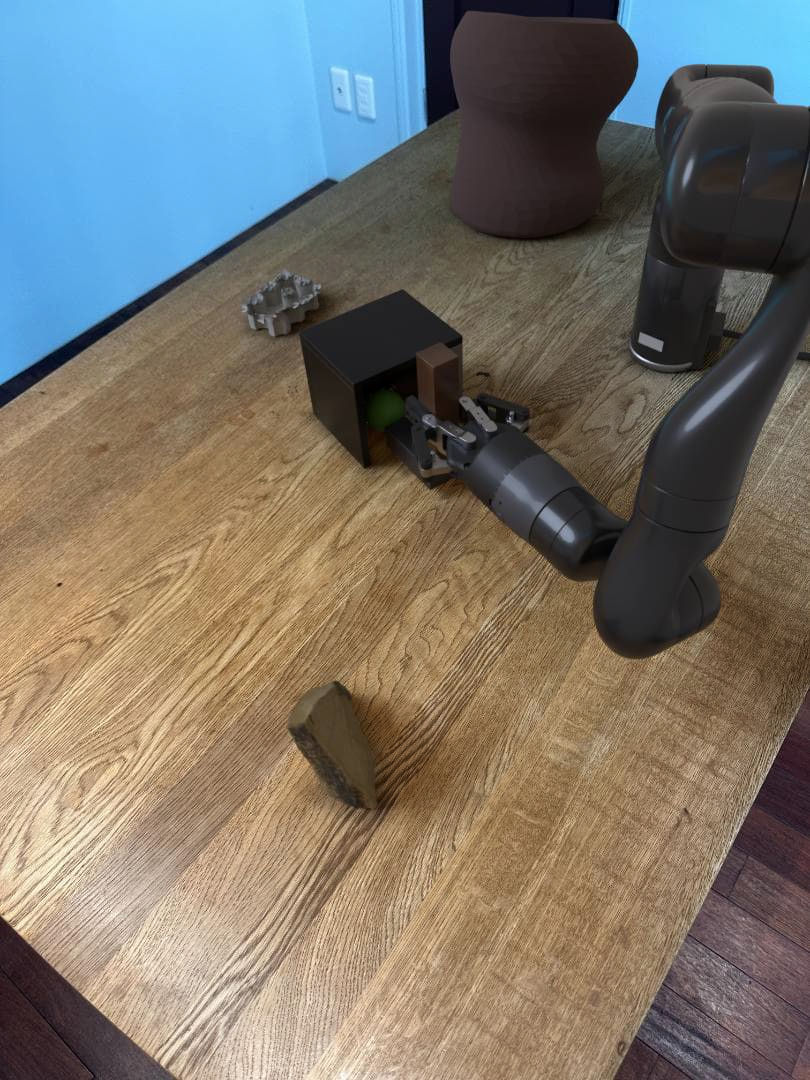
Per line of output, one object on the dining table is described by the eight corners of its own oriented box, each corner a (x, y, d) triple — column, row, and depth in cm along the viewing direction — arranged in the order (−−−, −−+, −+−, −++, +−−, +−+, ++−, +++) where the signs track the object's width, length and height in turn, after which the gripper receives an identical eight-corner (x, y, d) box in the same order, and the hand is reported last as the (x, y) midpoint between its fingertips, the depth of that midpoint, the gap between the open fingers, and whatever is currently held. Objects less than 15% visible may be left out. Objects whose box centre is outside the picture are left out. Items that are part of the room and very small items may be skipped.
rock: (298, 663, 73) (245, 753, 66) (347, 626, 67) (294, 720, 60) (389, 733, 75) (347, 827, 68) (444, 703, 69) (404, 802, 62)
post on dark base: (467, 471, 90) (467, 352, 78) (430, 490, 89) (424, 371, 77) (421, 429, 96) (415, 310, 84) (386, 446, 94) (374, 328, 82)
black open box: (463, 420, 98) (462, 335, 88) (364, 468, 93) (353, 384, 84) (408, 371, 104) (402, 288, 95) (313, 414, 100) (298, 331, 91)
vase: (629, 240, 123) (667, 13, 100) (451, 248, 124) (448, 25, 102) (603, 161, 140) (630, -47, 118) (447, 169, 142) (444, -36, 119)
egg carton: (280, 341, 110) (274, 316, 107) (239, 325, 114) (233, 300, 110) (328, 303, 116) (324, 277, 113) (288, 288, 119) (284, 263, 116)
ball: (417, 396, 94) (398, 393, 99) (380, 385, 92) (362, 383, 96) (407, 437, 95) (388, 433, 99) (370, 428, 93) (352, 424, 97)
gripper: (589, 428, 75) (476, 342, 85) (466, 493, 70) (362, 393, 80) (580, 486, 81) (476, 398, 90) (466, 550, 76) (369, 450, 86)
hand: (423, 396), depth 85 cm, fingers closed on post on dark base, 3 cm apart
